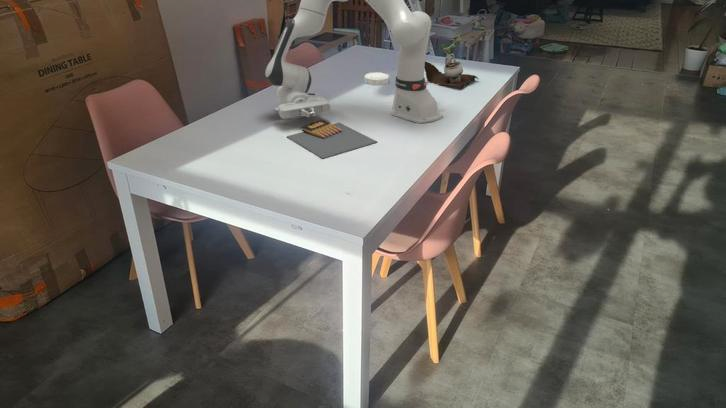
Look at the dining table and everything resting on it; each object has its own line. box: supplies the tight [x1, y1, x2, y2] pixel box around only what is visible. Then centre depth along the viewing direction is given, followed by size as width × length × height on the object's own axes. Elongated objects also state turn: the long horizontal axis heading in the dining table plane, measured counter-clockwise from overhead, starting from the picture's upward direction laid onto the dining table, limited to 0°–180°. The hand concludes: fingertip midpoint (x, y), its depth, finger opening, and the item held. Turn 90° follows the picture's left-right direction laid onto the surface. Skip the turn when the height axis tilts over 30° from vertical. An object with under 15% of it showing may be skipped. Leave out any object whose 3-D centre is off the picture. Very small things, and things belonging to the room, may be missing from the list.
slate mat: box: [286, 121, 378, 160], centre depth 194 cm, size 24×24×1 cm
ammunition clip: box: [301, 118, 342, 138], centre depth 200 cm, size 11×2×12 cm
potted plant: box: [424, 34, 479, 90], centre depth 254 cm, size 20×19×25 cm
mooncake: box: [363, 71, 390, 86], centre depth 257 cm, size 12×12×4 cm
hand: (311, 114), depth 200 cm, fingers closed
